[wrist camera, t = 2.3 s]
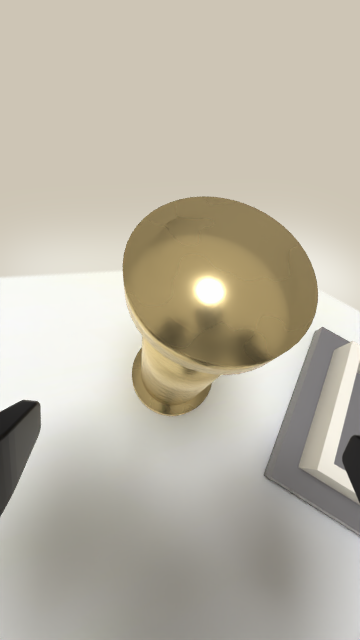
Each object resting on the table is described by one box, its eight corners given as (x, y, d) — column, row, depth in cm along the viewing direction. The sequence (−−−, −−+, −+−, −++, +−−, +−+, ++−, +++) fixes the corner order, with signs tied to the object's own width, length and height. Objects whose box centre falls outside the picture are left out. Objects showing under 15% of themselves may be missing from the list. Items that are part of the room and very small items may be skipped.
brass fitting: (223, 394, 19) (356, 317, 7) (151, 431, 17) (178, 405, 6) (188, 327, 21) (252, 182, 9) (120, 355, 19) (93, 219, 8)
